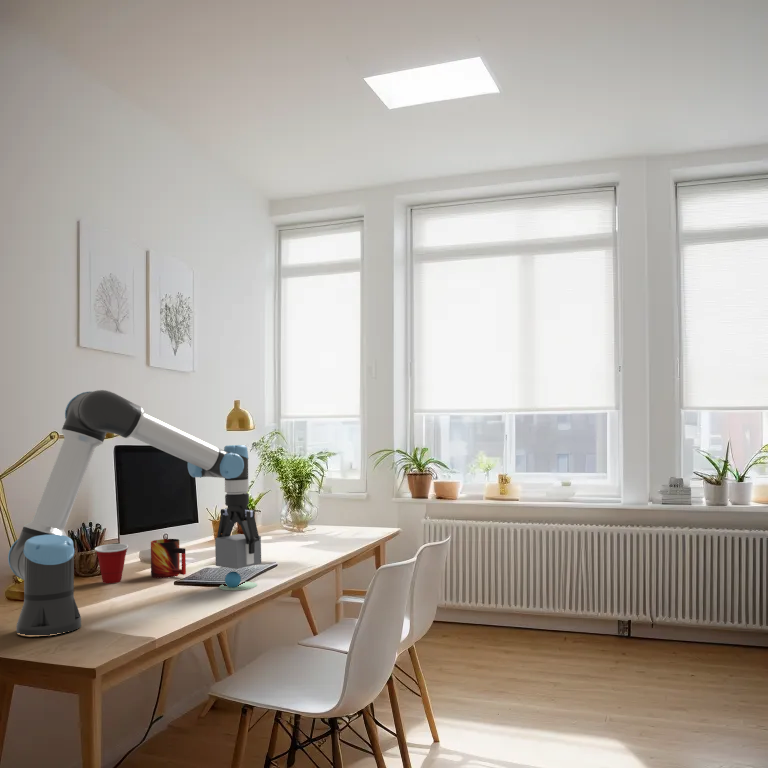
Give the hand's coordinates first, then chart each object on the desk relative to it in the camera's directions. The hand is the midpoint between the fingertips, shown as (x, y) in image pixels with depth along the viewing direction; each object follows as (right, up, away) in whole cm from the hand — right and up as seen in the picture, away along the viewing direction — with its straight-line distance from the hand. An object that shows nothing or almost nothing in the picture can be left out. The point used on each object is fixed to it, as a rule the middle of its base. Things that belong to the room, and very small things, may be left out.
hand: (238, 562), depth 240 cm
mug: (-28, -10, +21) cm, 36 cm away
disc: (0, -7, -1) cm, 7 cm away
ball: (-1, -5, -2) cm, 6 cm away
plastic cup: (-45, -10, +12) cm, 47 cm away
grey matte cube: (0, -1, 0) cm, 1 cm away
